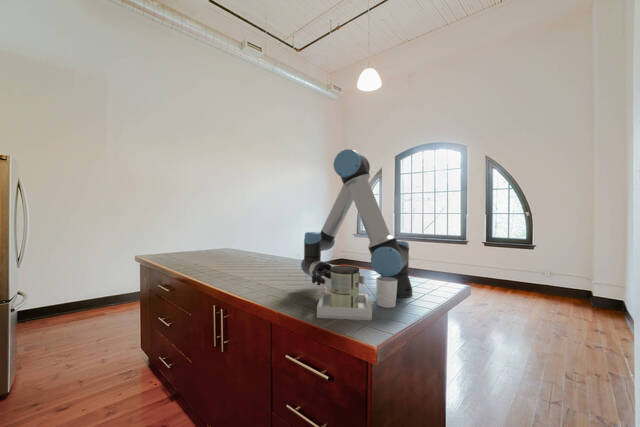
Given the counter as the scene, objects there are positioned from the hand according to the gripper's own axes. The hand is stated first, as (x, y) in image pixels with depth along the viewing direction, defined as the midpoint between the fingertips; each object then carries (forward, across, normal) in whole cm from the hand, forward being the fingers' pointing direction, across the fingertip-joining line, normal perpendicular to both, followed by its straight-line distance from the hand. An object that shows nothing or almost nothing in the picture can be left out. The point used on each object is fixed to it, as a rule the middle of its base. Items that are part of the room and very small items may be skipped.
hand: (347, 282), depth 102 cm
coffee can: (-2, 0, -10) cm, 10 cm away
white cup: (-1, -18, -11) cm, 21 cm away
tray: (-2, 0, -10) cm, 11 cm away
